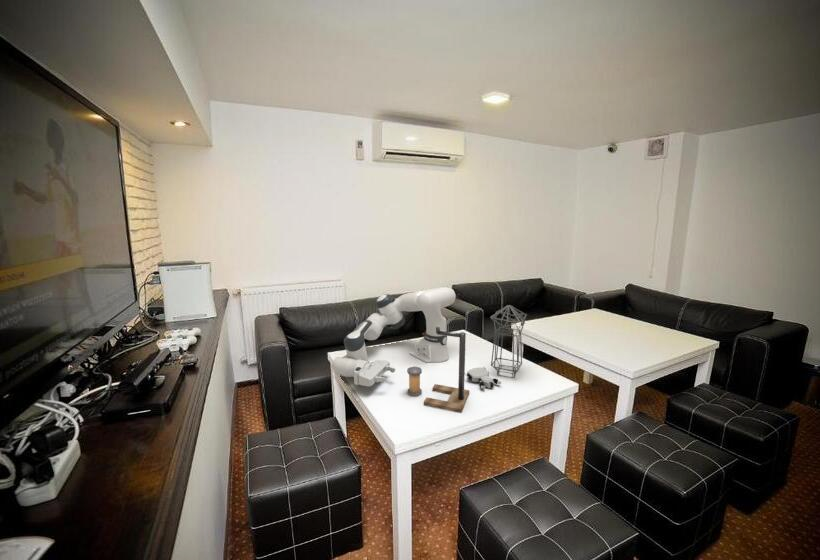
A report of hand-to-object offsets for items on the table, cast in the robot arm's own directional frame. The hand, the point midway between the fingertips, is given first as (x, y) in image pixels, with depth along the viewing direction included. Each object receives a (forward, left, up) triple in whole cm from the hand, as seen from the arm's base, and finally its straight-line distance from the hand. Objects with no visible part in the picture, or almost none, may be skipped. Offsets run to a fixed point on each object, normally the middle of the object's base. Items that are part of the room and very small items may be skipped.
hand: (390, 374), depth 152 cm
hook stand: (+26, +9, -5) cm, 28 cm away
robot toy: (+29, +32, -7) cm, 44 cm away
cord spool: (+11, +4, -7) cm, 13 cm away
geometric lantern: (+33, +49, -7) cm, 60 cm away
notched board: (+25, +9, -6) cm, 27 cm away
